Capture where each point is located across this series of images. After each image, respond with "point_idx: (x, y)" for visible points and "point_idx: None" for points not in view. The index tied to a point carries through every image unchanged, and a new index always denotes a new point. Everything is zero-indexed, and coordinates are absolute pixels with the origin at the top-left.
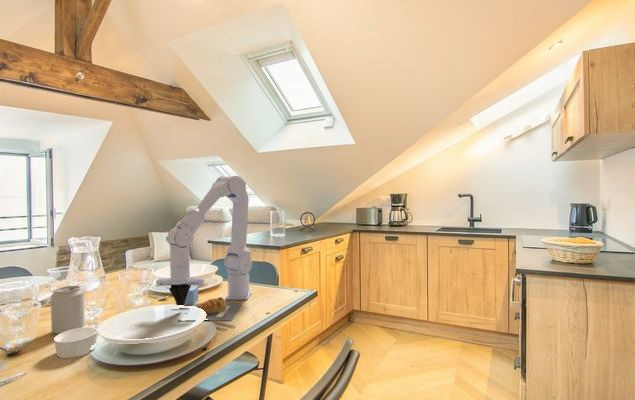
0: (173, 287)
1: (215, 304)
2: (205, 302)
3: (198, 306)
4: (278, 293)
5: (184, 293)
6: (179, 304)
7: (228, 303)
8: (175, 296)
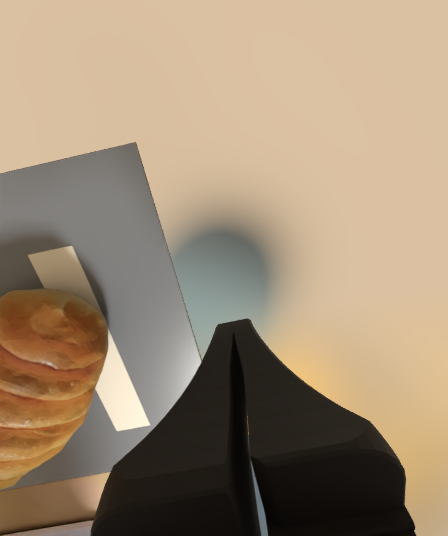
0: (357, 517)
1: None
2: (6, 400)
3: (33, 335)
4: None
5: (152, 433)
6: (230, 339)
7: (30, 482)
8: (272, 381)
